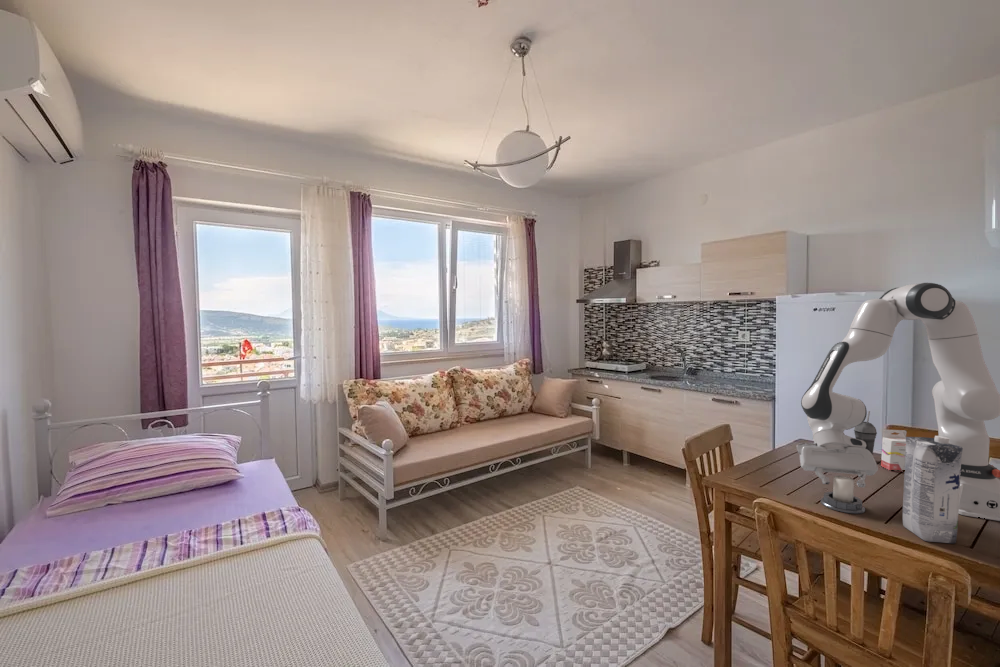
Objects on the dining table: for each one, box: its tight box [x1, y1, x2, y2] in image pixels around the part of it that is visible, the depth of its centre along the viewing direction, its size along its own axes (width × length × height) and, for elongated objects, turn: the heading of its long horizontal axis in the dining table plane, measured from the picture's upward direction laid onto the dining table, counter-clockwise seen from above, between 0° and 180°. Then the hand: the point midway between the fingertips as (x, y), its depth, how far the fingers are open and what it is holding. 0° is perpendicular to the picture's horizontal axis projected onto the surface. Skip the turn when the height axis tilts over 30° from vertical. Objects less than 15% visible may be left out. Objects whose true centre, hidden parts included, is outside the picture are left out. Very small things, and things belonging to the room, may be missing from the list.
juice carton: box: [902, 435, 963, 545], centre depth 122 cm, size 9×10×27 cm
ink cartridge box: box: [880, 429, 907, 471], centre depth 173 cm, size 9×5×15 cm, turn 84°
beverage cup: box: [853, 410, 878, 456], centre depth 184 cm, size 7×7×20 cm
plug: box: [832, 475, 855, 503], centre depth 141 cm, size 5×5×8 cm
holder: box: [820, 491, 866, 515], centre depth 141 cm, size 11×11×3 cm
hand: (844, 485), depth 140 cm, fingers open, 8 cm apart
